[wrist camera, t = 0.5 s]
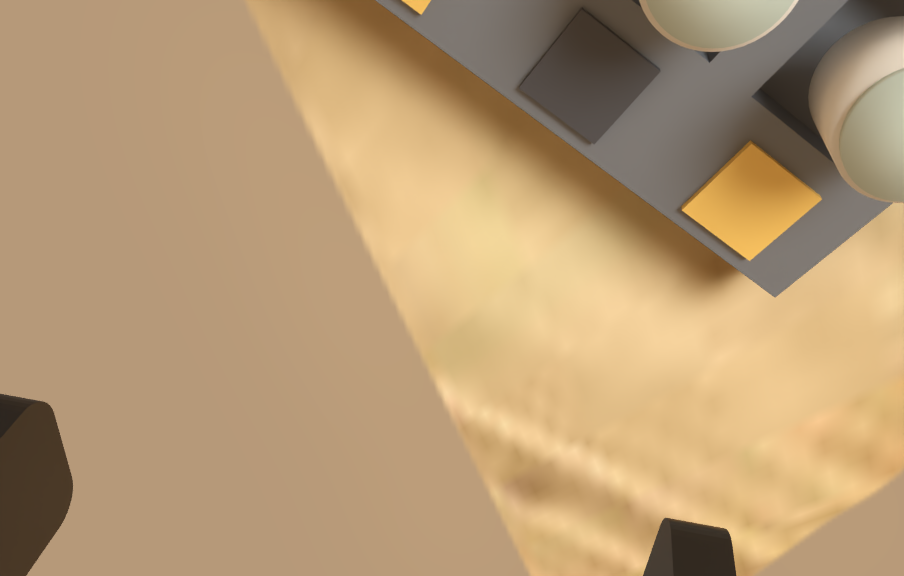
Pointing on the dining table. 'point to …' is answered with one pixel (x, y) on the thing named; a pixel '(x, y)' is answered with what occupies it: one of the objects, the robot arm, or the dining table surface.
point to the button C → (864, 107)
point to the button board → (678, 115)
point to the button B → (715, 21)
